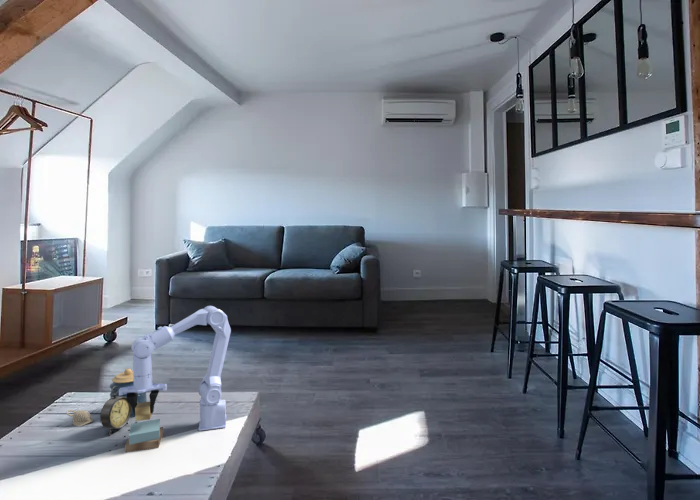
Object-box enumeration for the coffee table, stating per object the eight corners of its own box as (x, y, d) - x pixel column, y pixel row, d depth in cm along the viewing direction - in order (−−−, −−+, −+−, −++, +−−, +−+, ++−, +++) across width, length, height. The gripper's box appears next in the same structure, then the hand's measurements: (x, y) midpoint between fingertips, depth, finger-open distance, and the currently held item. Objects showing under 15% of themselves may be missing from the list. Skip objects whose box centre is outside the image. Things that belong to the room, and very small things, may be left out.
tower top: (159, 427, 145) (159, 418, 145) (159, 438, 137) (159, 430, 137) (131, 432, 142) (131, 423, 142) (129, 444, 134) (128, 435, 133)
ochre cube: (152, 413, 142) (151, 401, 142) (149, 419, 138) (149, 406, 137) (138, 415, 141) (137, 402, 140) (135, 421, 136) (135, 408, 136)
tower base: (163, 434, 146) (163, 426, 146) (158, 449, 136) (158, 440, 136) (132, 438, 143) (132, 430, 143) (125, 453, 134) (125, 445, 133)
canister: (145, 402, 172) (144, 361, 172) (148, 414, 161) (147, 370, 160) (110, 409, 166) (108, 366, 165) (110, 422, 155) (109, 376, 154)
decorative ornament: (87, 426, 152) (87, 412, 151) (65, 426, 152) (64, 412, 152) (94, 421, 156) (93, 407, 155) (72, 421, 156) (72, 407, 156)
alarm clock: (110, 437, 143) (109, 392, 142) (97, 436, 144) (96, 391, 143) (133, 423, 154) (132, 381, 153) (120, 422, 155) (119, 380, 154)
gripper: (115, 380, 133) (116, 421, 133) (164, 375, 137) (165, 415, 137) (121, 373, 139) (122, 411, 140) (167, 368, 143) (168, 406, 144)
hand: (143, 413), depth 139 cm, fingers closed on ochre cube, 4 cm apart
